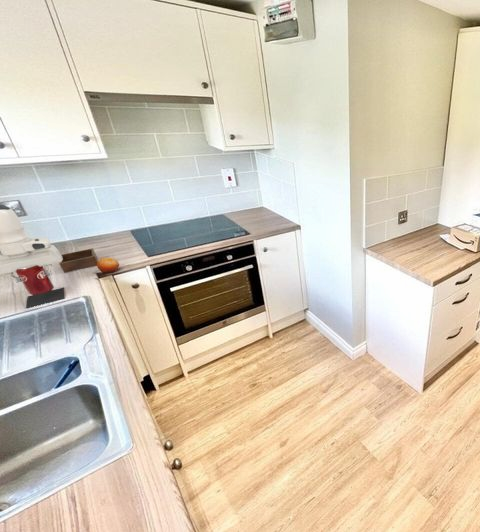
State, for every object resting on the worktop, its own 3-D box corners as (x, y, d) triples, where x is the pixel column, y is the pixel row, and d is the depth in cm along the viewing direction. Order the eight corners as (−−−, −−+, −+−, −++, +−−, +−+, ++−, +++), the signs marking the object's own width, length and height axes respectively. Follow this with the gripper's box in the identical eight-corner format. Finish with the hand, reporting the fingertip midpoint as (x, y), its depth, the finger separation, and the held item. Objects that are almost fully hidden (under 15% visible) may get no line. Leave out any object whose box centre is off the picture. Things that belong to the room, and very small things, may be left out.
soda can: (28, 297, 127) (12, 271, 122) (30, 290, 132) (15, 264, 126) (54, 291, 131) (39, 265, 126) (55, 284, 136) (41, 259, 131)
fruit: (97, 266, 155) (102, 252, 153) (118, 271, 159) (123, 258, 158) (91, 274, 148) (96, 259, 147) (112, 279, 153) (117, 265, 151)
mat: (26, 308, 126) (25, 307, 126) (28, 297, 133) (27, 296, 133) (64, 298, 133) (64, 297, 133) (64, 288, 140) (63, 287, 140)
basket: (64, 273, 152) (59, 263, 150) (64, 264, 160) (59, 254, 158) (99, 265, 160) (94, 256, 157) (97, 256, 168) (92, 248, 165)
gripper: (-27, 257, 114) (-5, 290, 120) (53, 242, 127) (69, 272, 133) (-24, 251, 118) (-3, 283, 124) (53, 237, 131) (68, 267, 137)
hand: (34, 278), depth 129 cm, fingers closed on soda can, 7 cm apart
